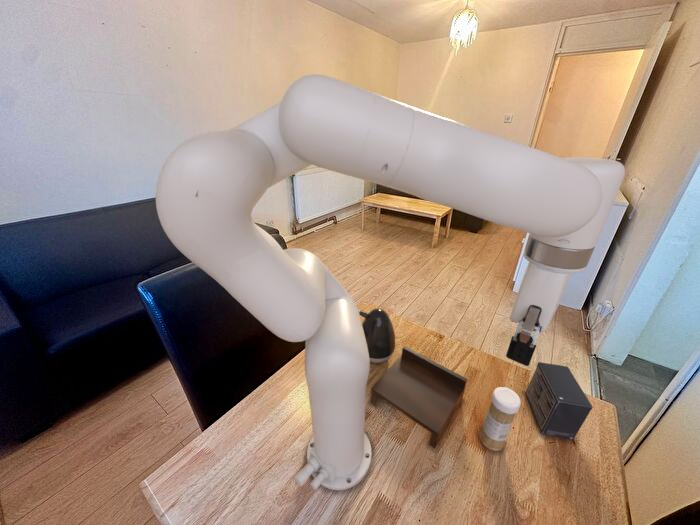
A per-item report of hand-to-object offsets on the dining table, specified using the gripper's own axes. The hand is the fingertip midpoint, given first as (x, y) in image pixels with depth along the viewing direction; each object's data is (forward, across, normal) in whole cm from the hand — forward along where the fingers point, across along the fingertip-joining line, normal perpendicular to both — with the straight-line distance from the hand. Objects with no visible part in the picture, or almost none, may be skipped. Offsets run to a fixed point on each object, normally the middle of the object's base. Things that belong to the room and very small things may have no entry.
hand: (524, 343), depth 48 cm
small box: (+26, -13, +8) cm, 30 cm away
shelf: (+25, +3, -16) cm, 30 cm away
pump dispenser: (+25, -3, -32) cm, 41 cm away
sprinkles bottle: (+25, +1, 0) cm, 25 cm away
